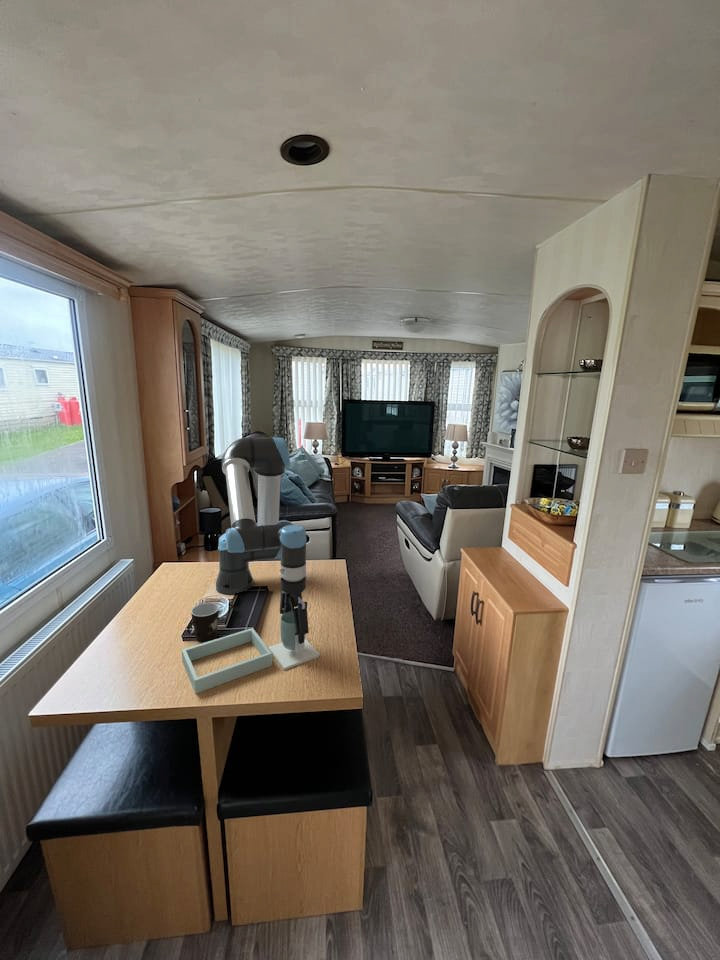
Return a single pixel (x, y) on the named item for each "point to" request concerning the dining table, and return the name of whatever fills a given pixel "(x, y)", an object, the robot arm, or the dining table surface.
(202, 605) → the coffee mug
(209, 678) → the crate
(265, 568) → the dining table surface
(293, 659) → the plate
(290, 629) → the cup
